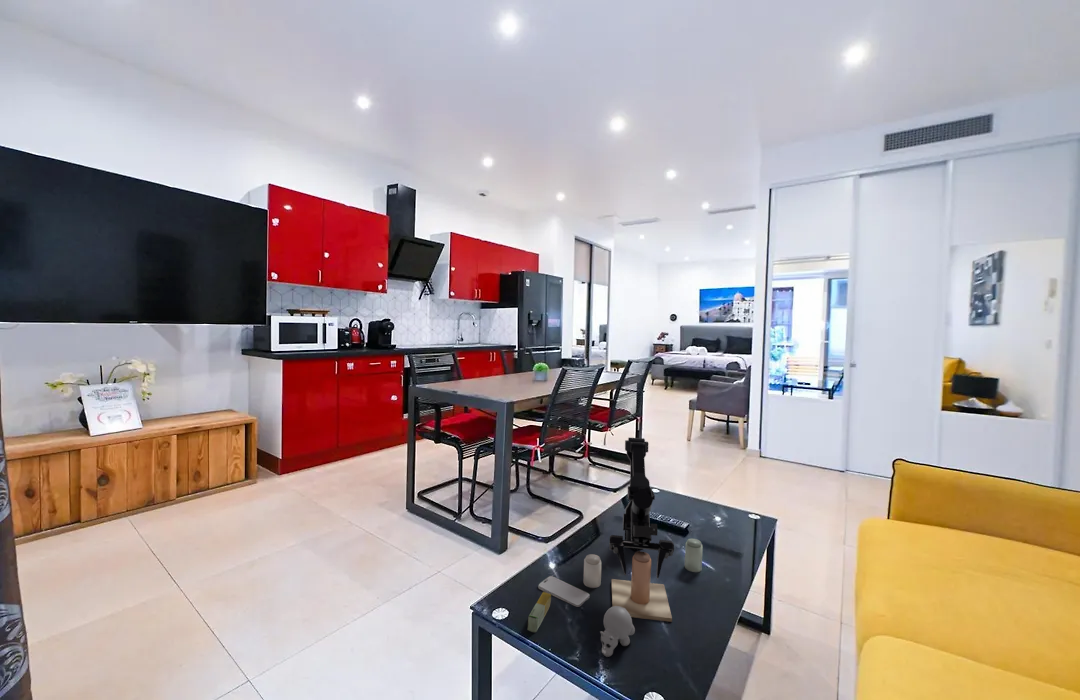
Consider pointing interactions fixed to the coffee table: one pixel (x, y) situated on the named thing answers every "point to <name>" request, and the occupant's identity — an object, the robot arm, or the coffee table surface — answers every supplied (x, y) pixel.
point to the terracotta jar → (641, 578)
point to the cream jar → (592, 571)
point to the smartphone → (564, 591)
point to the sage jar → (693, 555)
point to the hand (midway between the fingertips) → (641, 576)
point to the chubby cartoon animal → (616, 629)
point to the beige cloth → (651, 610)
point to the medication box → (539, 612)
